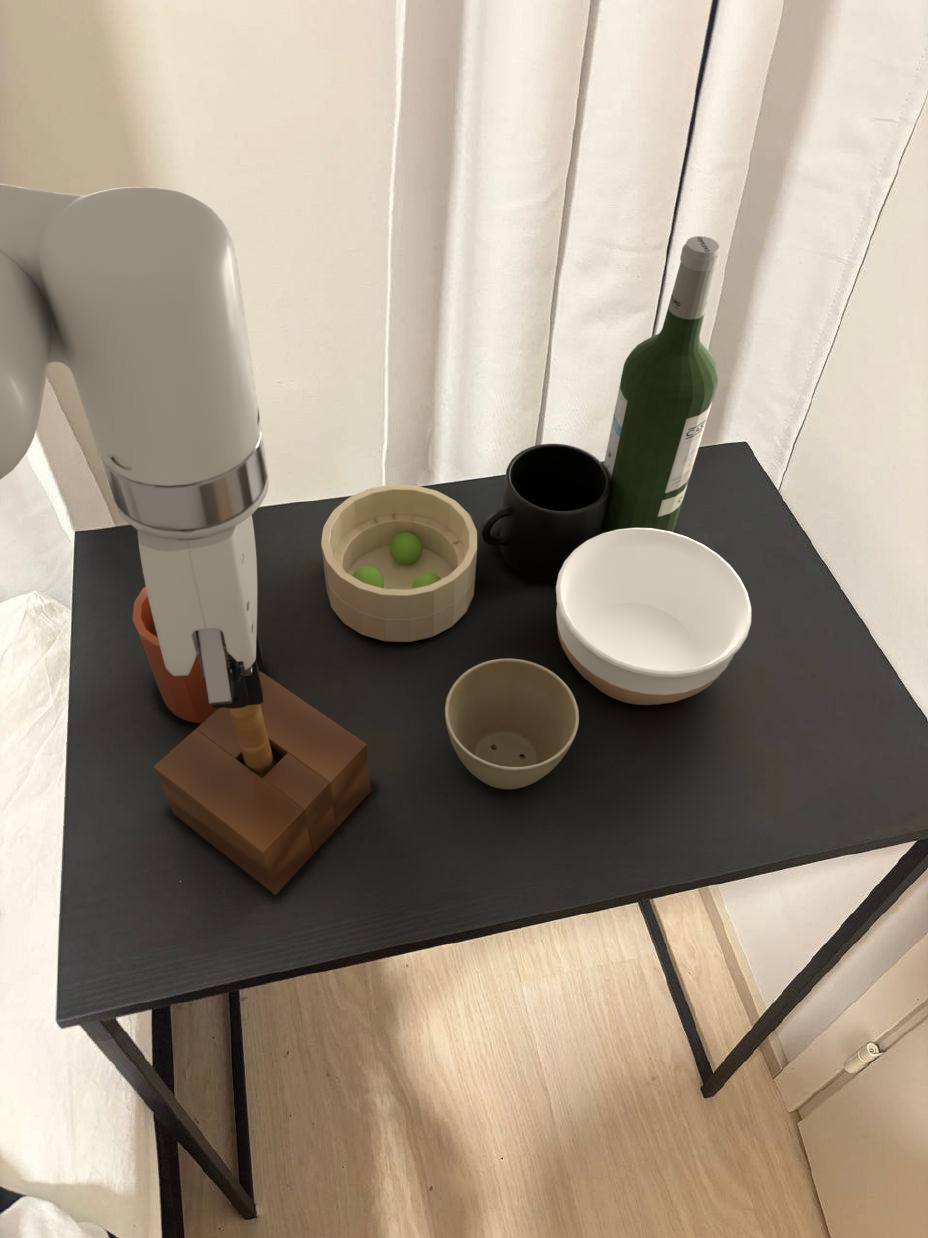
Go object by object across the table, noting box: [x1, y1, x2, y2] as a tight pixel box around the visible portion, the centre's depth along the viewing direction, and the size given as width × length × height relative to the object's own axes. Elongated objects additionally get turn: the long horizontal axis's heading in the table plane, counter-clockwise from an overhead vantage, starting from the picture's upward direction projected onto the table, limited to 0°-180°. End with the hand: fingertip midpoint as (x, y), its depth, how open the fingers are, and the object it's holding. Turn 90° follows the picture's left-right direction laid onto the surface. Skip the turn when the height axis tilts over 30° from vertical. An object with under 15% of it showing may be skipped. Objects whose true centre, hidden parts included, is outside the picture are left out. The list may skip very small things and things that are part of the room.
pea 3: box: [412, 573, 441, 589], centre depth 82 cm, size 3×3×3 cm
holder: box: [153, 671, 371, 896], centre depth 68 cm, size 11×11×7 cm
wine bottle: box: [601, 235, 721, 534], centre depth 80 cm, size 8×8×30 cm
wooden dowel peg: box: [228, 653, 277, 778], centre depth 62 cm, size 2×2×20 cm
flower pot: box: [444, 658, 580, 790], centre depth 71 cm, size 10×10×7 cm
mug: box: [481, 443, 610, 582], centre depth 86 cm, size 9×12×9 cm
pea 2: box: [390, 532, 422, 564], centre depth 86 cm, size 3×3×3 cm
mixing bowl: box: [320, 484, 478, 643], centre depth 83 cm, size 13×13×7 cm
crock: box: [132, 585, 261, 724], centre depth 74 cm, size 8×8×10 cm
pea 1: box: [352, 567, 384, 588], centre depth 83 cm, size 3×3×3 cm
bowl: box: [555, 528, 752, 706], centre depth 79 cm, size 16×16×8 cm
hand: (237, 683), depth 59 cm, fingers closed on wooden dowel peg, 2 cm apart
